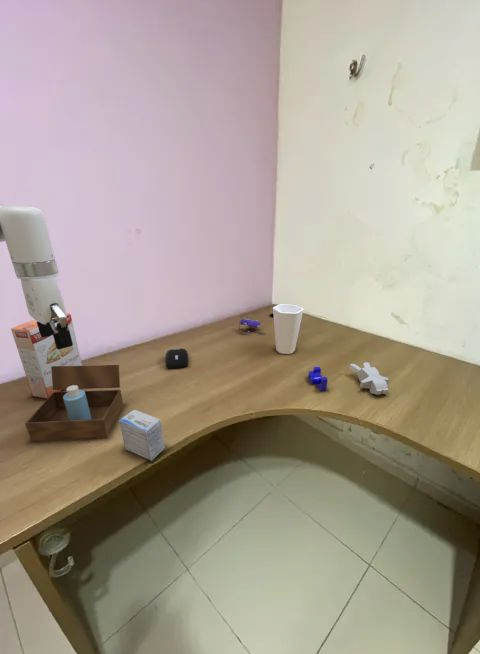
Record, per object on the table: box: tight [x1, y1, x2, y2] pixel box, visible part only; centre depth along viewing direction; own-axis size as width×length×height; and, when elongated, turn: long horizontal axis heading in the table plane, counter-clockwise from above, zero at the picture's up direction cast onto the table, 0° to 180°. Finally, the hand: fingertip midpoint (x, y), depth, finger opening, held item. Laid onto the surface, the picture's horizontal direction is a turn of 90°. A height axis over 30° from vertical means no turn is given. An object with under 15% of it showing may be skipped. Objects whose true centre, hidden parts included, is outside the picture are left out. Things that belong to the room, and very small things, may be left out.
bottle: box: [63, 385, 92, 421], centre depth 76 cm, size 5×5×10 cm
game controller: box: [238, 315, 261, 335], centre depth 136 cm, size 10×8×10 cm
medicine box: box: [119, 409, 166, 462], centre depth 69 cm, size 8×4×9 cm, turn 65°
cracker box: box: [10, 312, 83, 400], centre depth 88 cm, size 14×6×21 cm, turn 170°
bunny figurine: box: [348, 361, 390, 396], centre depth 99 cm, size 10×5×15 cm
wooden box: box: [25, 389, 124, 442], centre depth 77 cm, size 17×13×5 cm
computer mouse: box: [165, 348, 189, 369], centre depth 109 cm, size 8×12×4 cm, turn 15°
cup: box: [272, 303, 304, 355], centre depth 117 cm, size 11×10×17 cm
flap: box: [51, 364, 121, 391], centre depth 81 cm, size 16×6×1 cm
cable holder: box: [307, 366, 329, 392], centre depth 98 cm, size 8×4×4 cm, turn 10°
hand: (56, 341), depth 74 cm, fingers open, 9 cm apart
